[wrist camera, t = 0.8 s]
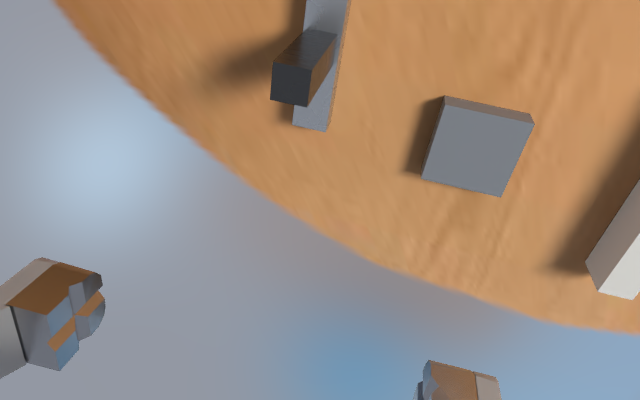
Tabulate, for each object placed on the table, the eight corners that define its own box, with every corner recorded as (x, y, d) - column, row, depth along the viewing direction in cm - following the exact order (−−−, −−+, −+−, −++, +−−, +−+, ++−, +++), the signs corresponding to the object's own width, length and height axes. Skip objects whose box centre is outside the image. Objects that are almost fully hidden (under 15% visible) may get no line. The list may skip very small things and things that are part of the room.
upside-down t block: (320, -62, 33) (276, -50, 23) (360, -55, 32) (332, -39, 23) (299, 113, 41) (259, 176, 31) (331, 120, 40) (300, 185, 31)
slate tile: (444, 93, 37) (445, 104, 35) (529, 111, 36) (534, 124, 34) (421, 165, 41) (420, 178, 39) (497, 182, 40) (500, 197, 38)
